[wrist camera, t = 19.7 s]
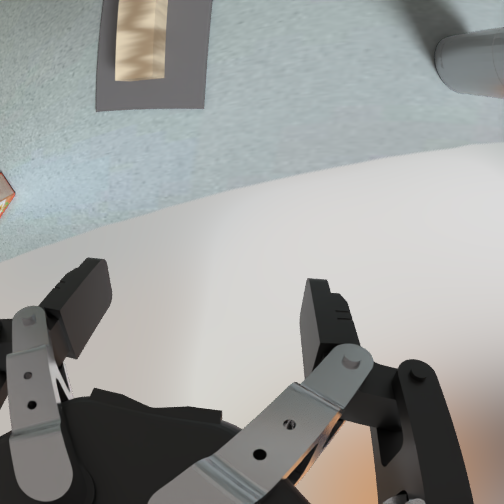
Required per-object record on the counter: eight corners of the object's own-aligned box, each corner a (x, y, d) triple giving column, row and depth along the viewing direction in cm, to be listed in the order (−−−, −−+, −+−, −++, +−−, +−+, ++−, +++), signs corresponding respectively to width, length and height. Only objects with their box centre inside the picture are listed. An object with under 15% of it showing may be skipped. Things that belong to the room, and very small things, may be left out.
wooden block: (164, 78, 37) (169, -14, 31) (152, 76, 33) (158, -24, 27) (130, 81, 38) (134, -8, 31) (115, 80, 33) (121, -18, 27)
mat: (219, -57, 28) (218, -58, 28) (204, 108, 40) (203, 108, 39) (113, -44, 28) (111, -45, 28) (97, 111, 40) (96, 111, 39)
